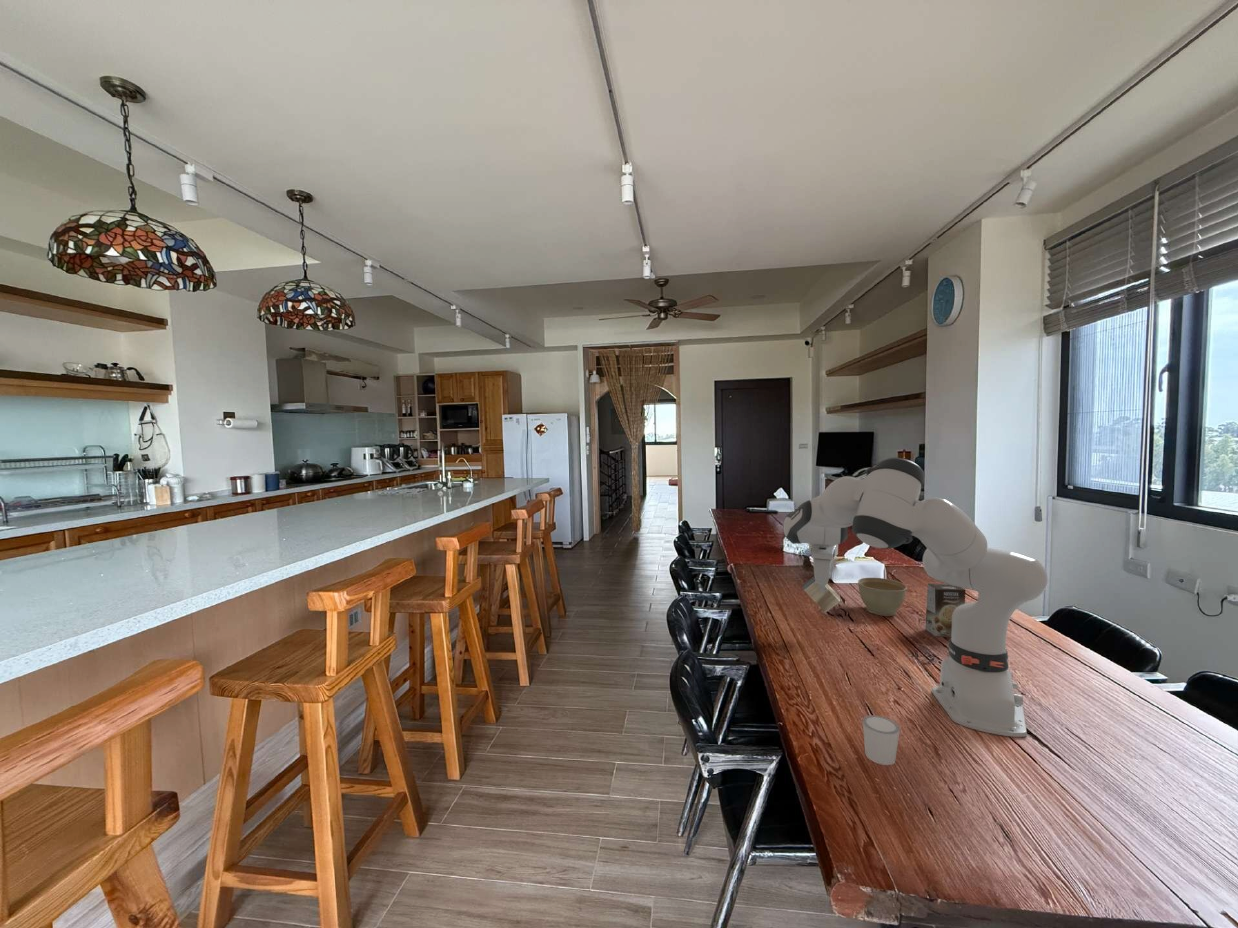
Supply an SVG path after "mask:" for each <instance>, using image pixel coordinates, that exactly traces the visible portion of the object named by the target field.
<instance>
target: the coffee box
mask: <svg viewBox="0 0 1238 928" xmlns="http://www.w3.org/2000/svg"><path fill="white" fill-rule="evenodd" d="M926 586H927V589H926V611H925V628H924V629H925V630H926V631H928V633H930V634H932V636H934V637H943V638H944V637H947V638H948V637H949V638H951V632H952V614H953V611H954V610H955V609H956V608H957V607H958V606H960V605H963V604H966V591H967V589H965V588H961V587H957V586H953V585H949V584H946V583H927V585H926Z"/></svg>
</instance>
